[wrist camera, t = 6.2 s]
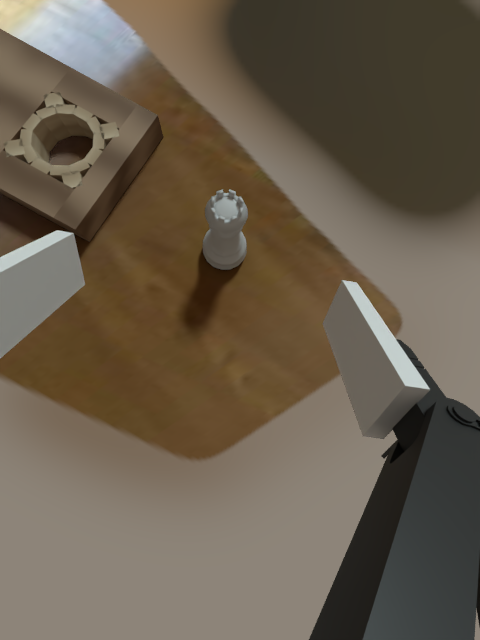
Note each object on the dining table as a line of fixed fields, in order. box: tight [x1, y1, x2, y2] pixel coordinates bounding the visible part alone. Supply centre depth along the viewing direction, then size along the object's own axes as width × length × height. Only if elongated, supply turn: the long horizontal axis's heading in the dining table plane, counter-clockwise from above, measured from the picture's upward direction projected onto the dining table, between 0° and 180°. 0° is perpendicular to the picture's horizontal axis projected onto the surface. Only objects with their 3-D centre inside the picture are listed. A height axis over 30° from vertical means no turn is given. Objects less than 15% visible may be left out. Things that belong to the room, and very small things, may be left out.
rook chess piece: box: [203, 189, 248, 270], centre depth 22 cm, size 4×4×8 cm
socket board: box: [0, 29, 163, 242], centre depth 25 cm, size 14×18×2 cm
